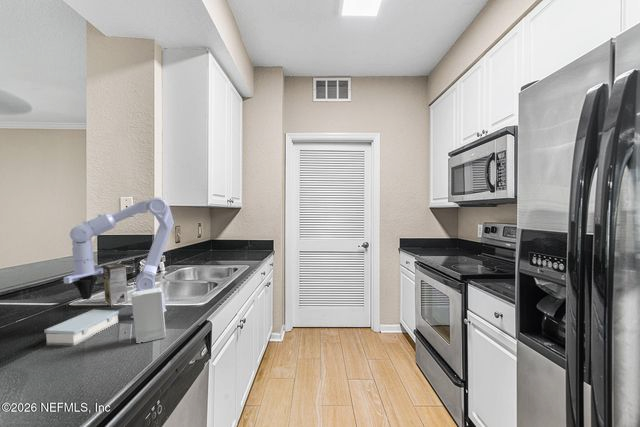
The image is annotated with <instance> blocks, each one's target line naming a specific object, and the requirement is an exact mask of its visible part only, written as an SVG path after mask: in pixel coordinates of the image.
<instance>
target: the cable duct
mask: <svg viewBox="0 0 640 427" xmlns="http://www.w3.org/2000/svg"><path fill="white" fill-rule="evenodd" d="M116 323H117V324H118V323H119V313H118V314H116V315H114V316H111V317H109V318H107V319H105V320H103V321H101V322H99V323H97V324H95V325H93V326H91V327H89V328H86V329H84V330H82V331H80V332H78V333H76V334H59V333H45V335H46V346H65V347H66V346H67V347H68V346H69V347H70V346H71V347H74V346H77V345H78V344H80V343H82V342H84V341H86V340H88V339H91V337H93V335H94V336H95V334H96V333H98V332H99V333H101V332H103V331H105V330H107V329H109V328H111V327H113V326H115V325H116ZM114 324H115V325H114ZM112 325H113V326H112ZM110 326H111V327H110ZM108 327H109V328H108ZM106 328H107V329H106ZM104 329H105V330H104ZM102 330H103V331H102ZM100 331H101V332H100ZM99 333H98V334H99ZM96 335H97V334H96Z"/></svg>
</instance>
